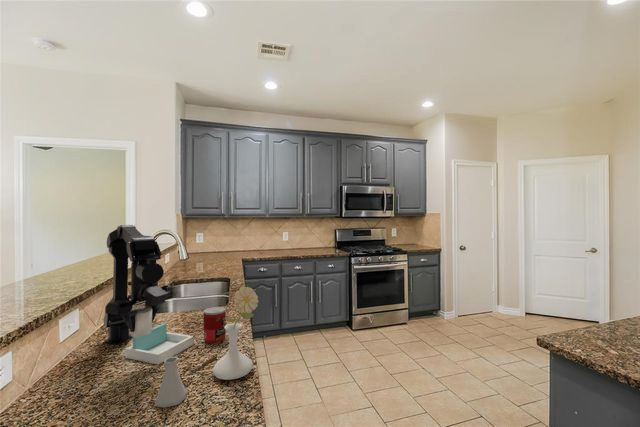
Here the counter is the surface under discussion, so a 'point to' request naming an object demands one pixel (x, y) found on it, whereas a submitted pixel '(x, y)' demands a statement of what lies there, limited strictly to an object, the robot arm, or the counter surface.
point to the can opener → (206, 363)
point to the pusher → (151, 338)
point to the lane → (161, 349)
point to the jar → (143, 321)
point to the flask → (171, 385)
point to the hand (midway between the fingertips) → (141, 328)
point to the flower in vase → (235, 361)
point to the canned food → (214, 324)
